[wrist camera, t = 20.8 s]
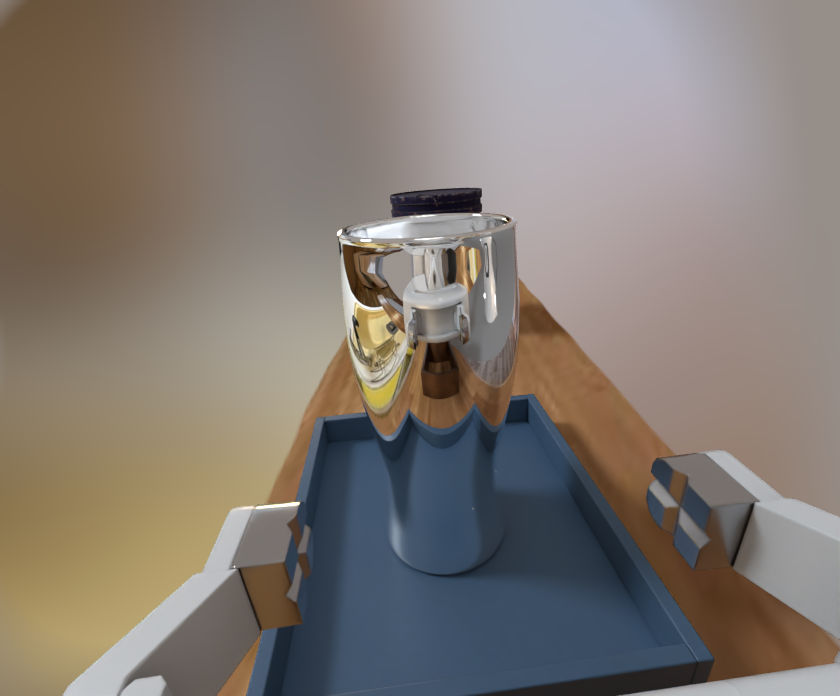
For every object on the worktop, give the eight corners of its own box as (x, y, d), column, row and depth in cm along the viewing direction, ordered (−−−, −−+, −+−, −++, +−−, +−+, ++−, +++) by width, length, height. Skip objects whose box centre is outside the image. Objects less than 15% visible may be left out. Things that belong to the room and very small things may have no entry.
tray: (532, 422, 30) (533, 393, 29) (701, 701, 14) (716, 658, 13) (322, 445, 29) (316, 417, 28) (255, 769, 13) (236, 730, 12)
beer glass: (355, 568, 19) (292, 242, 13) (401, 469, 25) (373, 215, 19) (507, 601, 17) (515, 238, 11) (518, 485, 23) (527, 209, 17)
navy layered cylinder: (432, 307, 56) (425, 189, 50) (498, 318, 50) (499, 186, 44) (384, 331, 48) (368, 197, 42) (454, 347, 43) (448, 195, 37)
